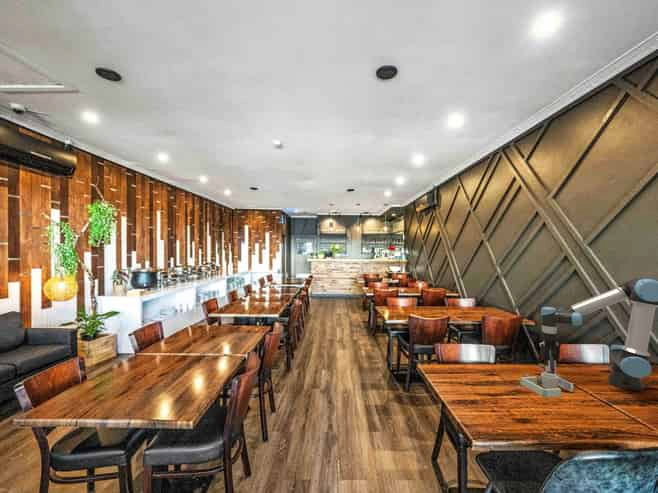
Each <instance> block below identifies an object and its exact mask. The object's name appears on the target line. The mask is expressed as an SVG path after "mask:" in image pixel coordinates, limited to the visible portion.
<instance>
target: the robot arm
mask: <svg viewBox="0 0 658 493" xmlns="http://www.w3.org/2000/svg"><path fill="white" fill-rule="evenodd" d="M622 301H630V302H631V303H632V305H631V306H632V307H631V313H630V319H629V323H628V329H627V333H626V337H625V338H626V339H625V342H624V345H623V344H611V345H610V349H609V351H610V366H611V367H610V368H611V369H610V371H609V375H608V377H607V382H608V383H609V384H610V385H611V386H614V387H616V388H620V389H623V390H624V389H625V390H629V391H645V384H644V383H643V382H642V378H646V377H648V376H649V375H650V374H651V373H652V370H653V369H652V365H651V363H650V360H651V354H650V353H649V352H648V348H649V343H650V338H651V333H652V328H653V322H654V318H655V313H656V309H657V308H658V280H656V279H651V278H644V277H635V278H632V279H629V280H627V281H625V282H623V283H621V284H618V285H616V286H615V288H613V289H610V290H608V291H605V292H603V293H600V294H598V295H594V296H592V297H589V298H587V299H585V300H583V301H579V302H577V303H575V304H572V305H569V306H566V307H561V308H559V309H558V310H557V309H556V307H551V306H542V307H541V309H540V310H541V312H540V315H541V316H540V317H541V337H542V341H541V342H538V346H539V352H540V353H539V354H540V358H541V359H543V360H544V361H543V363H544V366H545V371H549V372H550V361H549V355H553V358H554V372H557V365H558V364H557V361H559V360H560V358H561V355H560V353H561V345H562V344H561V342H558V341H557V340H558V334H557V333H558V331H557V330H558V327H557V324H558V325H569V326H581V325H582V323H583V317H582V316H584V315H588V314H590V313H593V312H596V311H598V310H601V309H604V308H605V307H606V308H607V307H609V306H612V305H614V304H617V303H621V302H622Z"/></svg>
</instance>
